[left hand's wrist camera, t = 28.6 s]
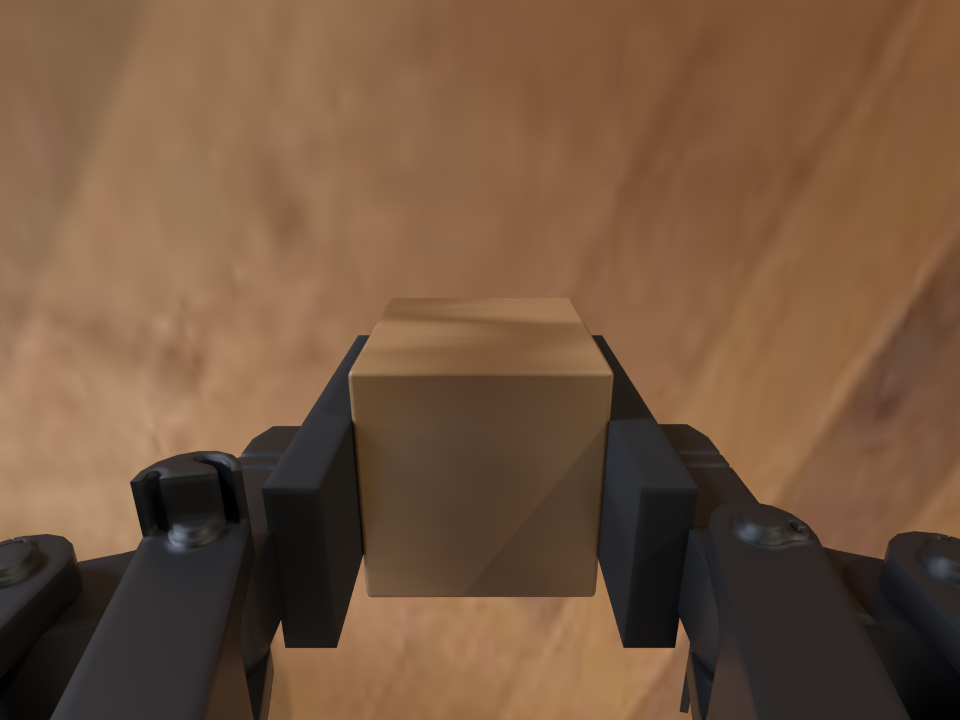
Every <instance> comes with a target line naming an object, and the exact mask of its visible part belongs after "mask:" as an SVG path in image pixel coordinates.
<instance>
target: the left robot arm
mask: <svg viewBox="0 0 960 720" xmlns="http://www.w3.org/2000/svg"><path fill="white" fill-rule="evenodd" d="M369 337H370V335H358V337H357V339H356V340H355V342H354V343H353V345H352V346H351V348H350V350H349V351H348V353H347V354H346V356H345V357H344V359H343V361H342V362H341V364H340V365H339V367H338V369H337V370H336V372H335V373H334V375H333V376H332V378H331V380H330V381H329V383H328V384H327V386H326V388H325V389H324V391H323V392H322V394H321V395H320V397H319V399H318V400H317V402H316V403H315V405H314V406H313V408H312V410H311V411H310V413H309V414H308V416H307V418H306V419H305V421H304V422H303V424H302V425H301V426H273V427H272V428H270V429H268V430H267V431H265V432H263V433H262V434H260V435H259V436H257V437H255V438H254V439H253V440H252V441H251V442H250V443H249V445H248V446H247V447H246V449H245V450H244V451H243V453H242V454H241V457H239V458H238V459H237V458H236V457H235V456H233V455H232V454H228V453H223V452H219V451H197V452H192V453H186V454H180V455H176V456H173V457H170V458H167V459H165V460H162V461H159V462H157V463H155V464H153V465H151V466H149V467H148V468H146V469H144V470H142V471H141V472H140V473H139V474H138V475H137V476H136V477H135V478H134V479H133V480H132V481H131V482H130V484H131V488H132V493H133V497H134V501H135V505H136V509H137V514H138V518H139V522H140V526H141V530H142V535H143V538H142V540H141V542H140V544H139V546H138V548H137V550H134V551H130V552H126V553H122V554H117V555H112V556H107V557H102V558H97V559H92V560H87V561H82V562H77V559H76V555H75V552H74V548H73V545H72V543H70V542H69V541H68V540H67V539H66V538H64V537H62V536H56V535H50V534H43V535H32V536H22V537H17V538H14V539H13V540H11V539H9V540H6V541H3V542H0V720H268V713H269V705H270V698H271V690H272V683H273V675H274V669H273V661H272V654H271V648H270V645H271V642H272V640H273V637H274V635H275V633H276V630H277V628H278V625H279V623H280V621H281V622H282V628H283V635H284V642H285V648H337V645H338V642H339V638H340V635H341V631H342V628H343V624H344V621H345V617H346V614H347V610H348V606H349V603H350V599H351V596H352V592H353V589H354V585H355V582H356V578H357V575H358V571H359V568H360V564H361V561H362V557H363V542H362V531H361V519H360V507H359V495H358V484H357V472H356V460H355V448H354V437H353V425H352V413H351V401H350V390H349V378H348V375H349V372H350V370H351V368H352V366H353V365H354V363H355V361H356V359H357V358H358V356H359V354H360V352H361V351H362V349H363V347H364V345H365V344H366V342H367V340H368V338H369ZM592 337H593V339H594V340H595V342H596V344H597V346H598V347H599V349H600V351H601V352H602V354H603V356H604V358H605V359H606V361H607V363H608V364H609V366H610V368H611V370H612V372H613V374H614V377H613V389H612V401H611V413H610V419H609V429H608V441H607V453H606V465H605V477H604V489H603V501H602V513H601V524H600V536H599V548H598V559H599V563H600V566H601V570H602V573H603V577H604V580H605V584H606V587H607V591H608V594H609V598H610V602H611V605H612V609H613V612H614V616H615V619H616V623H617V626H618V630H619V633H620V637H621V640H622V644H623V647H624V648H675V644H676V638H677V631H678V624H679V618H680V619H681V621H682V624H683V626H684V629H685V631H686V633H687V636H688V638H689V640H690V648H689V654H688V660H687V667H686V673H685V679H684V685H683V692H682V698H681V705H680V712H684V713H688V710H689V704H691V712H692V719H693V720H960V539H958V538H955V537H952V536H950V537H948V536H947V535H943V534H938V533H926V532H916V531H913V532H907V533H901V534H897V535H896V536H895V537H894V538H892V539H891V540H890V541H889V543H888V547H887V550H886V554H885V557H884V560H883V559H877V558H872V557H867V556H862V555H857V554H852V553H847V552H842V551H837V550H833V549H829V548H825V547H822V545H821V543H820V541H819V539H818V537H817V536H816V534H815V533H814V532H813V531H812V530H811V528H810V527H809V526H808V525H807V524H806V523H804V522H803V521H801V520H800V519H798V518H797V517H795V516H794V515H792V514H791V513H788V512H786V511H783V510H781V509H778V508H776V507H773V506H770V505H765V504H760V503H759V502H758V501H757V500H756V498H755V497H754V496H753V495H752V493H751V492H750V491H749V489H748V488H747V487H746V486H745V484H744V483H743V482H742V480H741V479H740V478H739V477H738V475H737V474H736V473H735V471H734V470H733V469H732V468H729V464H728V462H727V461H726V460H725V458H724V457H723V456H722V455H720V454H719V451H718V449H717V448H716V447H715V446H714V444H713V443H712V442H711V440H710V439H709V438H708V437H707V436H705V435H704V434H702V433H700V432H699V431H697V430H696V429H694V428H692V427H691V426H689V425H687V424H658V423H657V422H656V420H655V418H654V417H653V415H652V414H651V412H650V411H649V409H648V407H647V406H646V404H645V403H644V401H643V399H642V398H641V396H640V395H639V393H638V392H637V390H636V388H635V387H634V385H633V384H632V382H631V381H630V379H629V377H628V376H627V374H626V373H625V371H624V369H623V368H622V366H621V365H620V363H619V362H618V360H617V358H616V357H615V355H614V354H613V352H612V351H611V349H610V347H609V346H608V344H607V343H606V341H605V339H604V338H603V336H602V335H592Z"/></svg>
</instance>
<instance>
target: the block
mask: <svg viewBox="0 0 960 720" xmlns="http://www.w3.org/2000/svg"><path fill="white" fill-rule="evenodd" d="M613 377H614V374H613V372H612V370H611V368H610V366H609V364H608V363H607V361H606V359H605V358H604V356H603V354H602V352H601V351H600V349H599V347H598V346H597V344H596V342H595V340H594V339H593V337H592V335H591V334H590V332H589V330H588V328H587V327H586V325H585V323H584V322H583V320H582V318H581V316H580V315H579V313H578V311H577V310H576V308H575V306H574V304H573V303H572V301H571V299H568V298H393V299H391V300H390V302H389V303H388V305H387V307H386V309H385V310H384V312H383V314H382V316H381V317H380V319H379V321H378V323H377V324H376V326H375V328H374V330H373V331H372V333H371V335H370V337H369V338H368V340H367V342H366V344H365V345H364V347H363V349H362V351H361V352H360V354H359V356H358V358H357V359H356V361H355V363H354V365H353V366H352V368H351V370H350V372H349V375H348V378H349V390H350V401H351V413H352V425H353V437H354V448H355V460H356V472H357V484H358V495H359V507H360V519H361V531H362V542H363V554H364V566H365V578H366V590H367V594H368V596H370V597H592V596H594V594H595V592H596V581H597V569H598V548H599V536H600V524H601V513H602V501H603V489H604V477H605V465H606V453H607V441H608V429H609V419H610V413H611V401H612V389H613Z"/></svg>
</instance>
